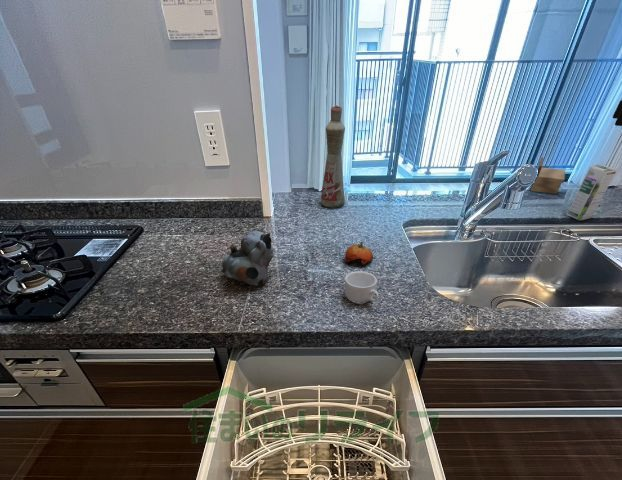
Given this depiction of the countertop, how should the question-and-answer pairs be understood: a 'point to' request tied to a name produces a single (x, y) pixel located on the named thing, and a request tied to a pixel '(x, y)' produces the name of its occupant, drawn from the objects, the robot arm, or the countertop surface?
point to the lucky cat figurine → (250, 259)
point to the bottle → (334, 162)
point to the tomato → (358, 253)
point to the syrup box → (591, 192)
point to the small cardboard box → (548, 179)
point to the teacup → (360, 287)
